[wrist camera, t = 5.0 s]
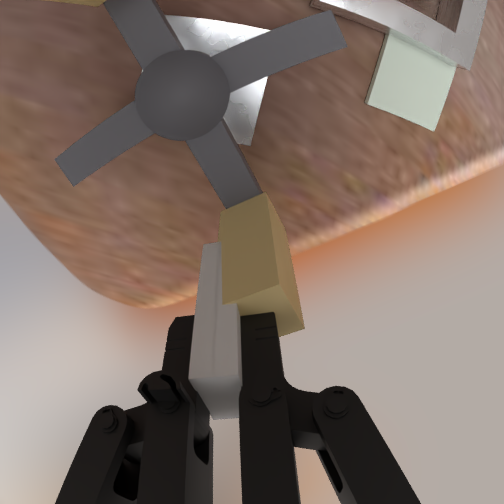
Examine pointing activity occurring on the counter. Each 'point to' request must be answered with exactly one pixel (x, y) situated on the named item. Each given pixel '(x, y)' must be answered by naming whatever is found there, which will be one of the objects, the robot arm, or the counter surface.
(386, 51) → the pad
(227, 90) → the handwheel
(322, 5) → the gray square frame
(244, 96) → the square base pedestal
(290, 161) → the counter surface
